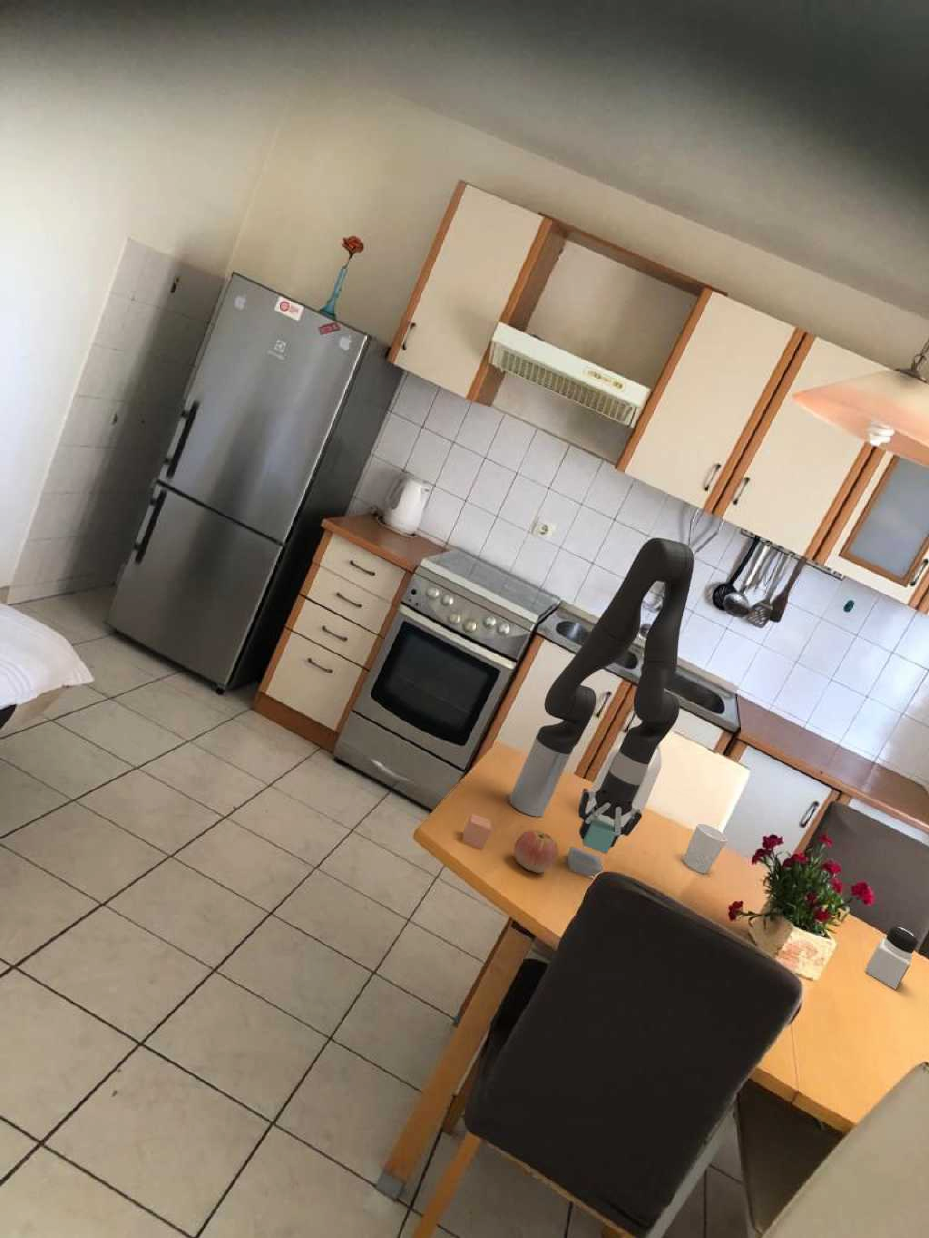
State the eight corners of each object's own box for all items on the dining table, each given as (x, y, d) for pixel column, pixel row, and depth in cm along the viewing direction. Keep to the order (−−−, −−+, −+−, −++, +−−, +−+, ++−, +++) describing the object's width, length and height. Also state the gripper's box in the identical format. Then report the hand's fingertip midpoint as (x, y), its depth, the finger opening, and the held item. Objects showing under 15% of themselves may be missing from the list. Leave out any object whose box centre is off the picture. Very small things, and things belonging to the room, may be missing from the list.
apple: (545, 884, 198) (560, 851, 196) (506, 865, 199) (521, 832, 197) (549, 867, 206) (564, 835, 205) (511, 849, 207) (526, 817, 205)
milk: (635, 829, 248) (677, 741, 243) (619, 837, 238) (663, 746, 233) (596, 805, 254) (636, 718, 248) (579, 812, 244) (620, 722, 238)
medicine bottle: (895, 990, 216) (920, 946, 213) (864, 972, 219) (889, 928, 217) (898, 980, 222) (922, 937, 220) (868, 962, 225) (892, 919, 223)
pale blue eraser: (566, 855, 216) (571, 845, 215) (595, 866, 216) (600, 857, 215) (569, 869, 209) (573, 859, 208) (598, 881, 209) (603, 871, 209)
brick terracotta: (462, 833, 206) (471, 813, 205) (482, 840, 206) (491, 820, 205) (462, 842, 201) (471, 821, 200) (481, 850, 201) (491, 829, 200)
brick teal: (581, 834, 213) (590, 815, 212) (604, 843, 214) (613, 824, 213) (583, 845, 208) (592, 825, 207) (606, 854, 208) (615, 834, 207)
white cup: (712, 869, 243) (729, 835, 241) (707, 878, 235) (724, 844, 233) (683, 853, 245) (700, 820, 243) (677, 862, 238) (695, 828, 236)
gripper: (653, 780, 211) (622, 846, 215) (593, 756, 211) (563, 823, 214) (658, 793, 204) (626, 861, 207) (596, 768, 204) (565, 837, 207)
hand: (594, 841), depth 211 cm, fingers closed on brick teal, 5 cm apart
